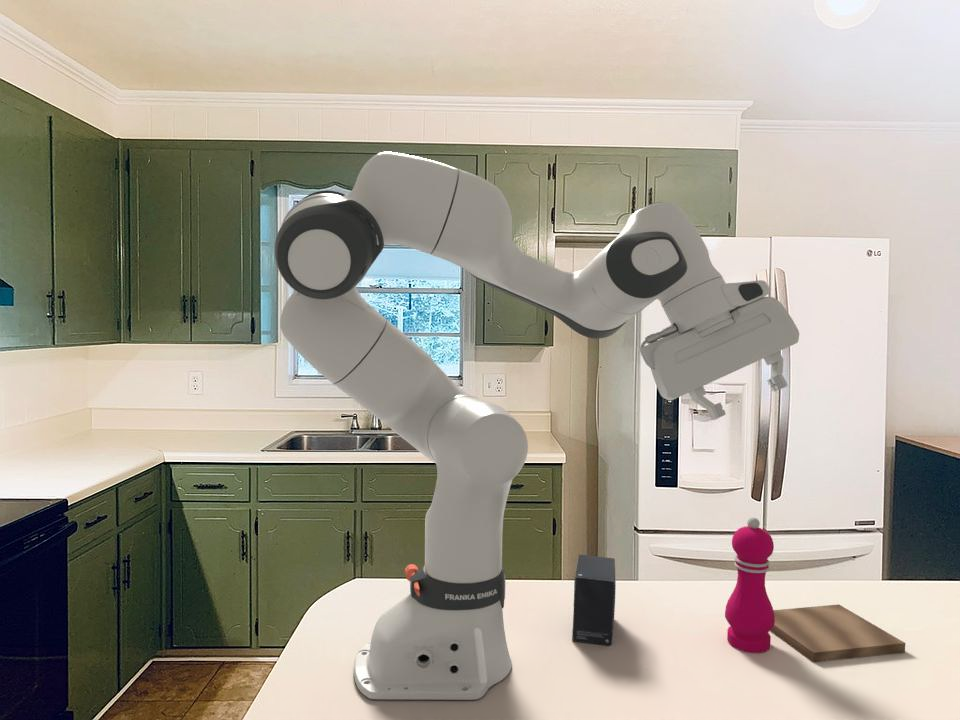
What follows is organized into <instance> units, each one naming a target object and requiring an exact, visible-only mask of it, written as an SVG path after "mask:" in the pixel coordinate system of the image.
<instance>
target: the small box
mask: <svg viewBox="0 0 960 720" xmlns="http://www.w3.org/2000/svg"><path fill="white" fill-rule="evenodd" d="M616 584H617V583H616V560H615V558H613V557H606V556H595V555H588V554H578V558H577V561H576V567H575V574H574V584H573V585H574V586H573V587H574V588H573V589H574V590H573V592H574V593H573V617H572V632H571V633H572V636H571V641H572V642H578V643H587V644H594V645H595V644H596V645H604V646H611V645H612V643H613V634H614V623H615V611H616V608H615V607H616V592H617V591H616V587H617V585H616Z"/></svg>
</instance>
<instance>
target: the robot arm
mask: <svg viewBox="0 0 960 720" xmlns="http://www.w3.org/2000/svg"><path fill="white" fill-rule="evenodd" d="M512 218H513V216H512V212H511V208H510V205H509V203H508V200H507V198H506V197H505V195H504V194H503V192H502V191H501V189H500V188H498V187H497V186H496V185H494V183H492V182H491V181H489V180H487V179H485V178H483V177H481V176H479V175H476V174H474V173H471V172H469V171H465V170H462V169H461V168H457V167H455V166H451V165H449V164H445V163H443V162H439V161H435V160H431V159H427V158H423V157H420V156H415V155H409V154H406V153H400V152H399V153H398V152H392V151H383V152H379V153H377V154H374V155H373V156H372V157H370V158H369V160H367V161H366V162H365V164H364V165H363V167H362V168H361V169H360V172H359V173H358V175H357V177H356V180H355V183H354V186H353V187H352V189H351V191H350V192H349V193H347V194H345V193H343V192H340V191H335V190H319V191H316V192H313V193H309V194H308V195H306V196H305V197H303V198H302V199H301V200H299V201H298V202H297V203H296V204H294V205H293V206H292V207H291V208H290V209H289V211H288V212H287V213H286V215H285V216H284V218H283V220H282V223H281V226H280V228H279V230H278V232H277V233H276V237H275V242H274V257H275V263H276V267H277V269H278V272H279V274H280V275H281V277H282V278H283V280H284V281H285V282H286V284H287V285H288V286H289V287H290V288H292V289H293V290H294V291H293V292H292V293H291V295H290V296H289V297H288V299H286V302H285V303H284V306H283V308H282V311H281V314H280V319H279V321H280V323H279V326H280V329H281V333H282V335H283V337H284V338H285V339H286V340H287V342H288V343H289V344H290V345H291V346H292V347H293V348H294V350H296V352H298V353H299V355H300V356H301V357H302V358H303V359H304V360H305V361H306V362H307V364H308V363H309V365H311V366H312V368H314V369H315V370H316V371H317V372H318V373H319V374H321V376H323V377H324V378H325V379H326V380H328V381H329V382H330V383H331V384H333V385H334V386H336V387H337V388H338V389H339V390H341V391H342V392H343V393H345V394H346V395H347V396H349V397H350V398H351V399H352V400H354V402H356V403H357V404H359V405H360V406H362V407H363V409H365V410H366V411H368V412H369V413H371V415H373V416H374V417H375V418H377V419H378V420H379V421H381V422H382V423H383V424H384V425H385V426H387V427H388V428H389V429H391V430H392V431H393V432H394V433H395V434H397V435H398V437H401V439H403V440H404V441H405V442H407V444H409V445H410V446H412V448H414V449H416V450H417V451H418V452H420V453H421V455H423V456H424V457H425V458H427V459H428V460H429V461H431V462H433V463H435V466H436V470H437V475H436V482H435V487H434V493H433V497H432V501H431V505H430V507H429V508H428V509H427V511H426V514H425V520H424V565H423V566H422V567H421V568H420V569H419V568H418V566H417V565H416V564H413V563H412V564H411V563H410V564H408V565H406V567H405V568H404V575H405V578H406V580H407V581H409V584H410V585H409V588H410V591H409V594H407V596H405V597H404V598H402V600H400V601H399V602H397V603H396V604H395V605H393V606H392V607H390V608H389V609H388V610H387V611H385V612H384V613H383V614H381V615H380V616H379V617H378V619H377V621H376V622H375V625H374V628H373V631H372V635H371V639H370V642H369V643H366V644H364V645H362V647H361V648H360V649H359V650H358V652H357V653H356V656H355V659H354V664H353V665H354V666H353V677H354V682H355V684H356V687H357V688H358V690H359V691H360V693H361V694H362V695H364V696H365V697H367V698H368V699H371V700H435V701H436V700H440V701H441V700H443V701H444V700H449V701H450V700H458V701H459V700H460V701H461V700H462V701H463V700H464V701H465V700H467V701H468V700H469V701H471V700H472V701H473V700H479V699H481V698H483V696H485V694H486V693H487V692H488V690H489V689H490V688H491V687H492V686H493V685H495V684H498V683H499V682H501V681H502V680H504V679H505V678H506V677H507V676H508V675H509V673H510V672H511V670H512V658H511V656H510V652H509V648H508V644H507V638H506V631H505V624H504V614H503V612H504V611H503V609H504V607H505V599H506V576H505V569H504V568H503V530H504V529H503V527H504V526H503V525H504V516H505V515H504V514H505V509H506V506H507V500H508V496H509V493H510V489H511V486H512V482H513V480H514V478H516V476H517V475H518V474H519V473H520V471H521V470H522V468H523V467H524V465H525V463H526V461H527V456H528V451H529V445H528V444H529V443H528V442H529V441H528V437H527V434H526V432H525V430H524V428H523V426H522V425H521V424H520V423H519V422H518V421H517V419H516V418H515V417H514V416H513V415H512V414H511V413H509V411H507V410H506V409H505V408H503V407H502V406H500V405H498V404H496V403H492V402H488V401H485V400H483V399H480V398H478V397H475V396H473V395H471V394H470V393H468V392H466V391H465V390H463V389H462V388H461V387H460V386H458V384H456V382H454V381H453V380H452V379H451V378H450V377H449V375H447V374H446V373H445V371H444V370H442V368H440V367H439V366H438V364H437V363H436V362H435V360H433V357H432V356H431V355H430V354H429V353H428V352H427V351H425V350H424V349H423V348H421V346H419V345H418V344H417V343H416V342H414V341H413V340H412V339H411V338H410V337H409V336H408V335H407V334H406V333H404V332H402V331H401V330H400V329H399V328H398V327H396V325H394V324H393V323H392V322H391V321H389V320H388V319H387V318H386V317H384V315H382V314H381V313H380V312H379V311H377V310H376V309H375V308H374V307H373V306H372V305H371V304H369V303H368V302H367V301H366V300H365V299H364V298H363V296H362V295H361V293H360V292H359V290H358V288H357V285H358V284H359V283H360V282H361V281H362V280H363V279H364V277H365V276H366V274H367V273H368V271H369V270H370V268H371V267H372V265H373V264H374V263H375V261H376V260H377V258H378V257H379V255H380V254H381V253H382V252H383V250H384V247H385V246H386V245H398V246H404V247H407V248H410V249H414V250H416V251H419V252H421V253H422V252H423V253H426V254H428V255H432V256H434V257H436V258H439V259H442V260H445V261H447V262H449V263H452V264H453V265H456V266H457V267H460V268H462V269H464V270H465V271H467V272H468V273H469V274H470V275H471V276H472V277H473V278H474V279H477V280H478V281H480V282H481V283H483V284H485V285H487V286H489V287H490V288H493V289H495V290H497V291H499V292H501V293H504V294H506V295H508V296H511V297H512V298H515V299H517V300H519V301H522V302H525V303H527V304H529V305H531V306H534V307H535V308H538V309H541V310H543V311H544V312H547V313H549V314H551V315H553V316H554V317H555V318H557V319H559V320H560V321H561V322H562V323H563V324H565V325H566V326H567V327H569V328H570V329H571V330H573V331H574V332H576V333H578V334H579V335H581V336H583V337H586V338H590V339H597V340H599V339H604V338H608V337H610V336H613V335H614V334H615V333H616V332H618V331H619V330H620V329H621V328H622V327H623V326H624V325H625V324H626V323H627V322H628V321H630V319H632V318H633V317H635V316H636V315H638V314H640V312H642V311H643V310H644V309H646V307H648V306H649V305H651V304H652V303H653V302H654V301H657V300H658V301H659V302H660V304H661V307H662V308H663V309H662V310H663V311H664V313H665V315H666V316H667V319H668V321H669V322H670V323H669V324H670V325H668V326H666V327H665V328H662V329H661V330H659V331H657V332H655V333H651V334H649V335H647V336H646V337H645V338H644V340H643V341H642V343H641V345H640V347H639V348H640V349H639V351H640V352H639V353H640V355H641V357H642V359H643V361H644V363H645V364H646V366H648V367H649V368H650V371H651V374H652V378H653V381H654V383H655V385H656V388H657V391H658V392H659V395H660V396H661V397H662V398H663V399H665V400H667V401H669V402H670V401H674V400H676V399H678V398H680V397H682V396H684V395H687V394H688V395H689V396H690V398H691V400H692V401H693V402H694V403H696V404H697V405H699V406H701V408H703V409H706V411H707V413H708V415H709V418H710V419H711V421H715V420H717V419H719V418H722V417H724V416H726V415H727V413H726V411H725V409H724V408H723V405H722V402H718V403H713V402H712V401H711V400H710V399H708V398H706V397H705V396H706V395H707V392H706V390H705V388H704V386H706V385H708V384H710V383H713V382H715V381H717V380H719V379H721V378H724V377H726V376H728V375H731V374H732V373H735V372H736V371H739V370H741V369H743V368H745V367H747V366H750V365H753V364H754V363H756V362H759V361H760V360H764V362H765V363H766V366H770V365H771V378H769V379H767V380H766V382H767V384H768V385H769V386H770V389H771V391H772V392H777V391H780V390H783V389H784V388H786V387H788V383H787V381H786V379H785V377H784V373H783V372H784V357H783V356H782V354H781V351H783V350H785V349H788V348H789V347H791V346H794V345H797V344H798V343H799V340H800V330H799V329H798V327H797V325H796V323H795V321H794V319H793V318H792V316H791V315H790V313H789V312H788V310H787V309H786V308H785V306H784V305H783V304H782V303H781V301H780V300H778V299H777V298H775V297H773V296H769V294H770V292H771V291H770V289H771V288H770V287H769V284H768V283H767V282H766V281H765V280H762V279H760V280H751V281H741V282H727V283H726V281H725V280H724V277H723V275H722V274H721V272H719V271H718V270H717V269H716V268H715V266H714V265H713V263H712V261H711V259H710V254H709V250H708V247H707V245H706V244H705V242H704V240H703V238H702V237H701V235H700V233H699V231H698V230H697V228H696V226H695V224H694V223H693V221H692V220H691V218H689V216H688V215H687V214H686V212H685V211H684V210H683V209H682V208H681V207H680V206H678V204H676V203H674V202H671V201H659V202H653V203H650V204H648V205H645V206H644V207H641V208H640V209H637V210H636V211H634V213H632V214H630V216H629V217H628V218H627V220H626V222H625V225H624V228H623V229H622V230H621V231H620V233H619V234H618V235H617V236H616V237H615V238H614V239H613V240H612V241H611V242H609V244H608V245H606V246H605V247H604V248H603V249H602V250H601V251H600V252H599V253H598V254H597V255H596V256H595V257H594V258H593V259H592V260H591V261H589V263H588V264H587V265H586V266H585V267H584V268H582V269H580V270H577V271H576V270H575V271H569V272H568V271H563V270H561V269H560V268H556V267H555V266H553V265H550V264H548V263H546V262H543V261H542V260H539V259H538V258H535V257H533V256H531V255H529V254H527V253H526V252H523V251H522V250H520V248H519V247H517V245H516V244H515V242H514V239H513V219H512Z"/></svg>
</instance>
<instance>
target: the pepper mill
mask: <svg viewBox="0 0 960 720" xmlns="http://www.w3.org/2000/svg"><path fill="white" fill-rule="evenodd" d="M746 523H747V525H746V526H742V527H740V528H738V529H736V530H735V532H734V533H733V535H732V539H731V546H732V549H733V551H734V552H735V554H736V555H735V556H734V561H735V562H734V563H733V564H734V566H735V567H736V569H737V577H736V578H737V579H736V584H735V587H734V588H733V591H732V593H731V594H730V596H729V598H728V600H727V602H726V605H725V611H724V618H725V620H726V622H727V624H728V625H729V626H728V628H727V632H726V633H727V634H726V635H727V637H726V638H727V642H728V644H729V645H730V646H732V647H733V648H734V649H736V650H739V651H742V652H746V653H752V654H761V653H766V652H767V651H770V649H771V641H772V637H771V634H770V633H769V632H771V631H770V630H771V629H772V628H773V627H774V624H775V615H774V611H773V610H774V608H773V605H772V603H771V602H772V601H771V600H770V598H769V595H768V593H767V590H766V573H767V572H769V570H770V566H769V565H770V560H769V558H770V556H772V555H773V553H774V549H775V548H774V547H775V545H774V541H773V537H772V536H771V534H769V532H768V531H766V530H765V529H764V528H761V527H760V524H761V523H760V521H759V519H758V518H757V517H753V516H752V517H749V518H748V519H747V521H746Z"/></svg>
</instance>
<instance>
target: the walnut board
mask: <svg viewBox="0 0 960 720" xmlns="http://www.w3.org/2000/svg"><path fill="white" fill-rule="evenodd" d="M773 611H774V615H775V624H774V627H773V628H772V629H771V630H770V631H769V632H771V633H772V634H773V635H775V636H776V637H778V638H779V639H780V640H782V642H785V643H786V644H787V645H788V646H790V647H791V648H793V649H794V650H795V651H796V652H798V653H800V655H802V656H804V657H805V658H806V659H808V660H809V661H810V662H812V663H819V662H829V661H831V662H832V661H839V660H847V659H855V658H856V659H857V658H858V659H859V658H866V657H876V656H885V655H895V654H896V655H897V654H904V653H906V642H904V641H903V640H901V639H899V638H898V637H896V636H895V635H893V634H891V633H889V632H888V631H885V630H884V629H882V628H881V627H878V626H877V625H875V624H873V623H872V622H870V621H868V620H866V619H865V618H864V617H861V616H859V615H858V614H857V613H855V612H854V611H853V612H852V611H851V610H849V609H848V608H846V607H844V606H843V605H841V604H839V603H838V604H828V605H817V606H807V607H806V606H805V607H795V608H786V609H785V608H784V609H783V608H782V609H773Z"/></svg>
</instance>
